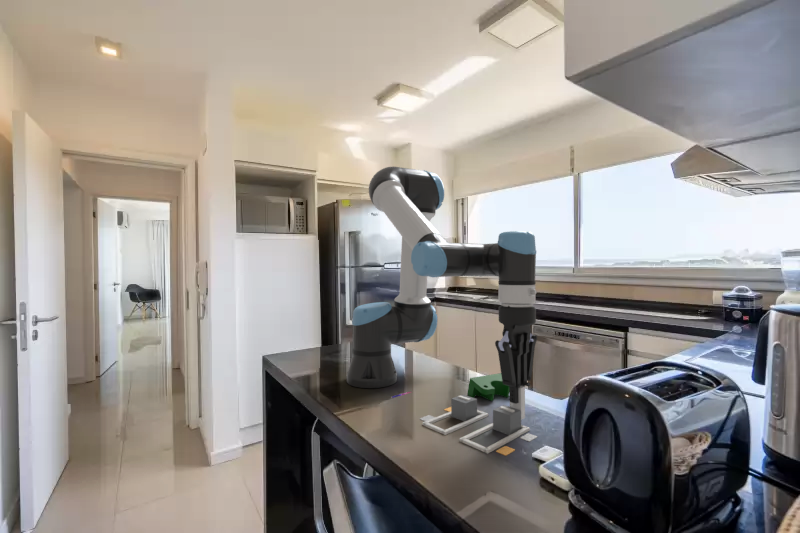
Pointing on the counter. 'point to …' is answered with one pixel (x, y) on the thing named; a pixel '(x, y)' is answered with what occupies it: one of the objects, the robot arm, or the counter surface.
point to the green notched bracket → (488, 386)
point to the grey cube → (506, 419)
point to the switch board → (478, 432)
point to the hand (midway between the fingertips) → (517, 416)
